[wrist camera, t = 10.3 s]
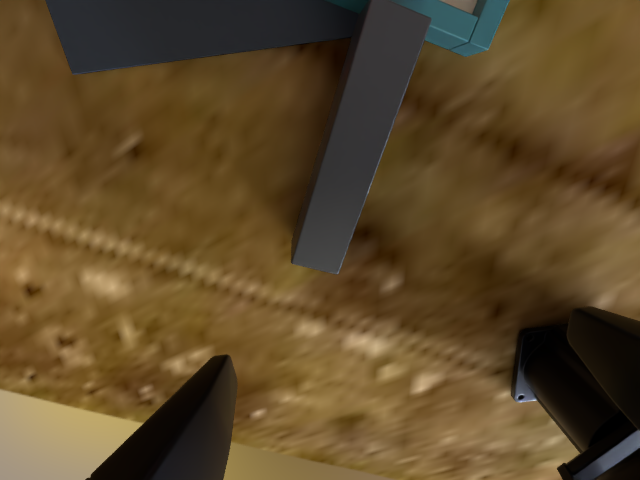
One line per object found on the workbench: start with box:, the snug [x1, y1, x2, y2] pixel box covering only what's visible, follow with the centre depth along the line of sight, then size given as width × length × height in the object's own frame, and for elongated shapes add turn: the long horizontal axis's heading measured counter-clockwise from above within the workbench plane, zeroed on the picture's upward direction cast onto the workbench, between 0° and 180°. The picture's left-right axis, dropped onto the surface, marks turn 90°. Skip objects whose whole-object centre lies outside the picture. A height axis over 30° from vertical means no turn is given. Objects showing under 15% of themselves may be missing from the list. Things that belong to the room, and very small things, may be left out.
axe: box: [291, 0, 510, 274], centre depth 14 cm, size 22×9×3 cm, turn 163°
